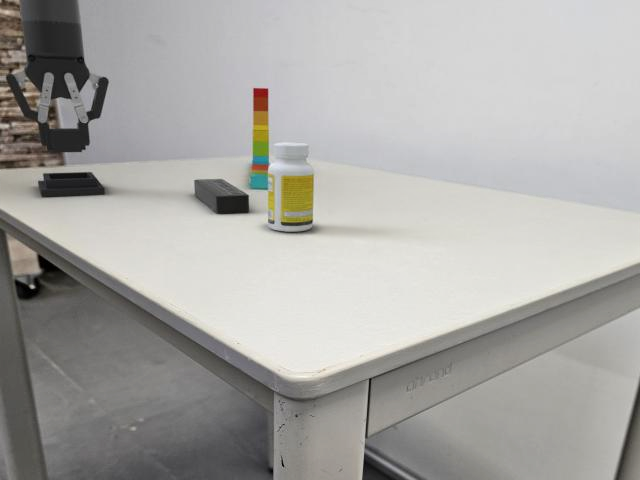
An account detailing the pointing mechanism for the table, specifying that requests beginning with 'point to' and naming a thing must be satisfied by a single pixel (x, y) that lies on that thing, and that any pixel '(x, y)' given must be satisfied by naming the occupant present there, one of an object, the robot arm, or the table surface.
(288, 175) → the supplement bottle
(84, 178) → the base pad
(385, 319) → the table surface
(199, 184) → the multiport hub
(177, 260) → the table surface
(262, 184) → the chart
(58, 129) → the small pad
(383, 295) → the table surface
